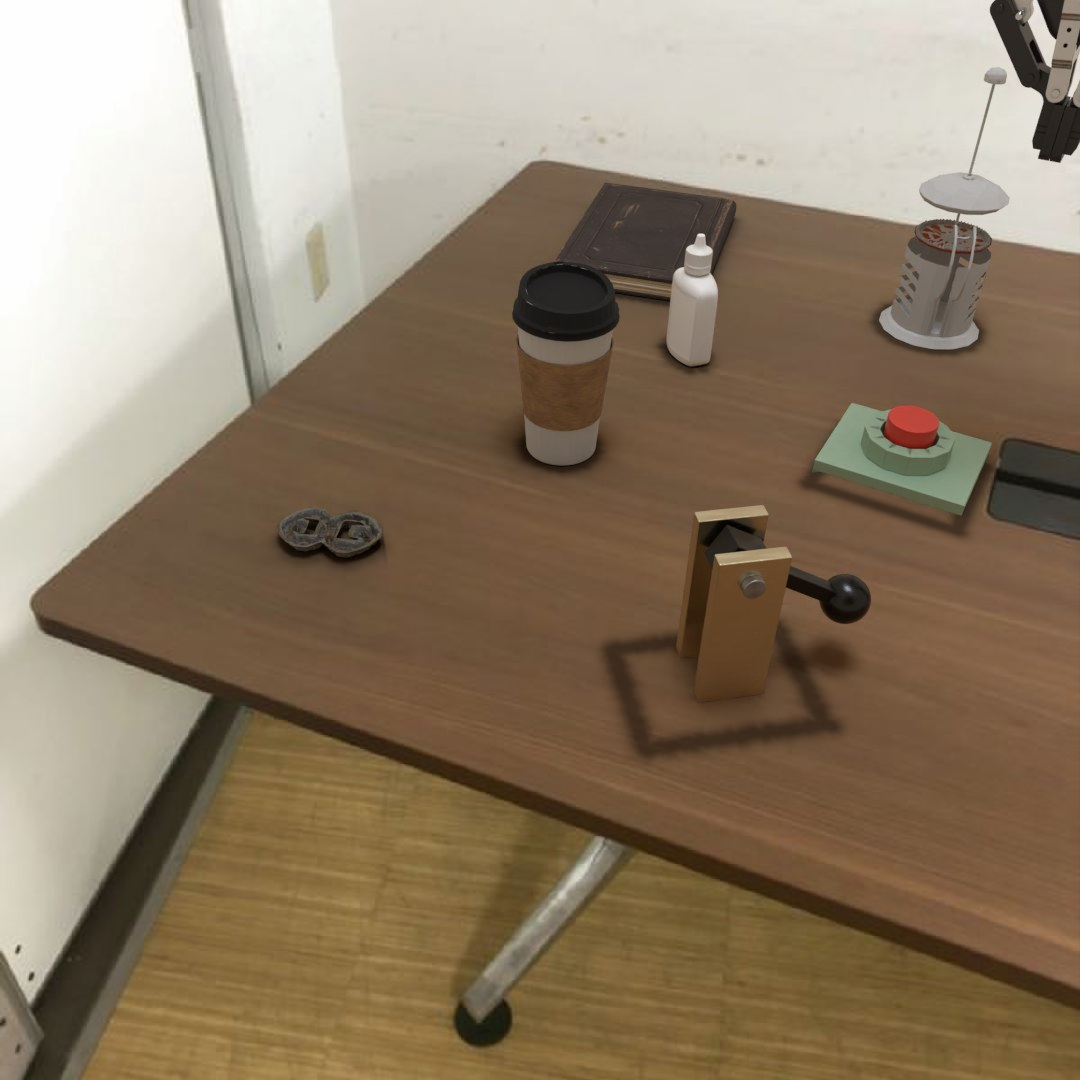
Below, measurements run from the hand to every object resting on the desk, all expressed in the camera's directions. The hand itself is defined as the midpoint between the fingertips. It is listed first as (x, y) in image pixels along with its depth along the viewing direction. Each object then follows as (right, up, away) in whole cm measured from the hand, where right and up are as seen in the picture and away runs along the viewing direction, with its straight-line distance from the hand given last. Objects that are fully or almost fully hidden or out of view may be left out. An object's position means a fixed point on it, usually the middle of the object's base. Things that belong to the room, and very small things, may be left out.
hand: (1051, 157), depth 75 cm
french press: (+5, -5, +37) cm, 38 cm away
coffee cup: (-33, -18, +20) cm, 42 cm away
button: (-4, -17, +16) cm, 24 cm away
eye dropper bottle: (-20, -8, +33) cm, 39 cm away
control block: (-5, -20, +18) cm, 27 cm away
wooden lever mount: (-23, -35, -1) cm, 42 cm away
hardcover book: (-22, +7, +50) cm, 55 cm away
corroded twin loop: (-50, -26, +10) cm, 57 cm away
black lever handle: (-19, -29, -5) cm, 36 cm away
